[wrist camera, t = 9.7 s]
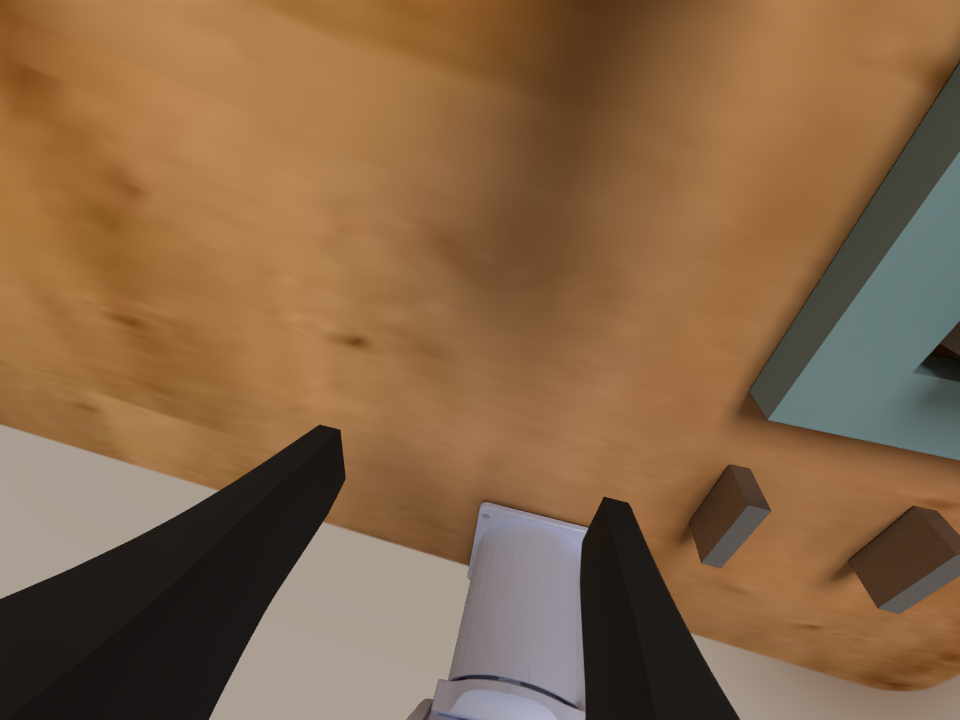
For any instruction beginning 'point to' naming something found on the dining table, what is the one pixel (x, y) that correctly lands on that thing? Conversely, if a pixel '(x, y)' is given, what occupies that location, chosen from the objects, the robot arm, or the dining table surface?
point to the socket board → (885, 310)
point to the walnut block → (953, 339)
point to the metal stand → (880, 565)
